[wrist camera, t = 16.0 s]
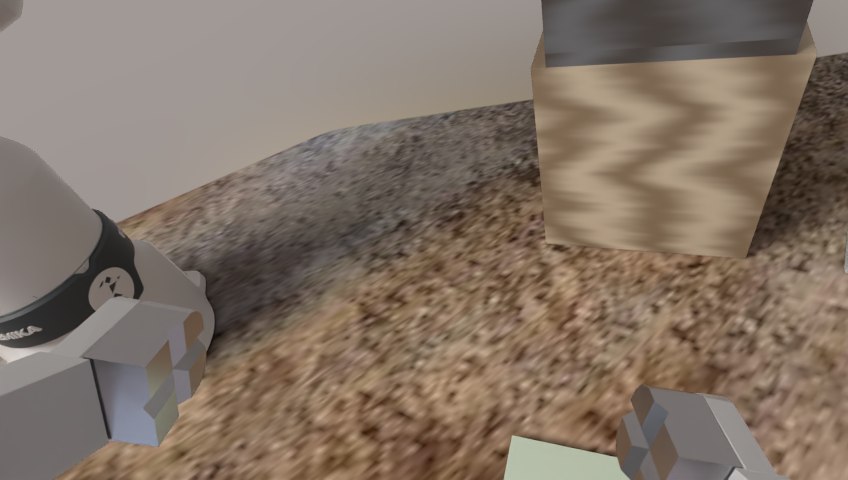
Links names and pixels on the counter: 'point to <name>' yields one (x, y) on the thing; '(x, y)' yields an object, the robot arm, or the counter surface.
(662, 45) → the tub stand
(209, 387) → the counter surface
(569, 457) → the lid
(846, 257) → the supplement box
